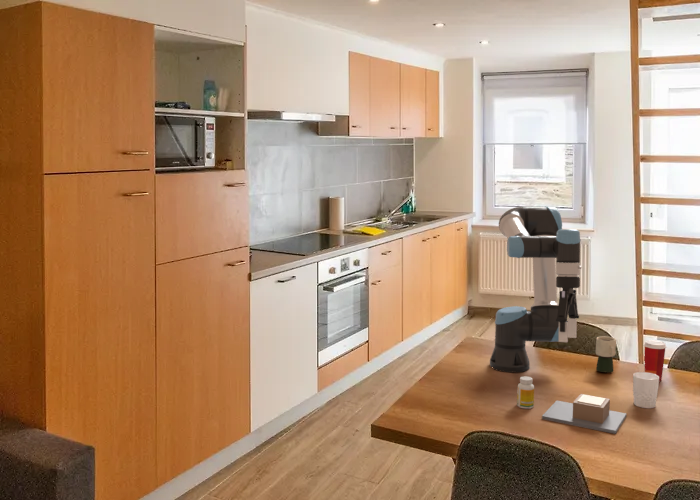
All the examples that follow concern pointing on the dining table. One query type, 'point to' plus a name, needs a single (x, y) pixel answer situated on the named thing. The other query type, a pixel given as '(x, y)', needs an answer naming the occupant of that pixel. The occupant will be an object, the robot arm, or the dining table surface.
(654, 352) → the paper cup
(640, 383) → the white cup
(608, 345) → the character mug
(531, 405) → the supplement bottle
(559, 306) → the robot arm
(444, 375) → the dining table surface
